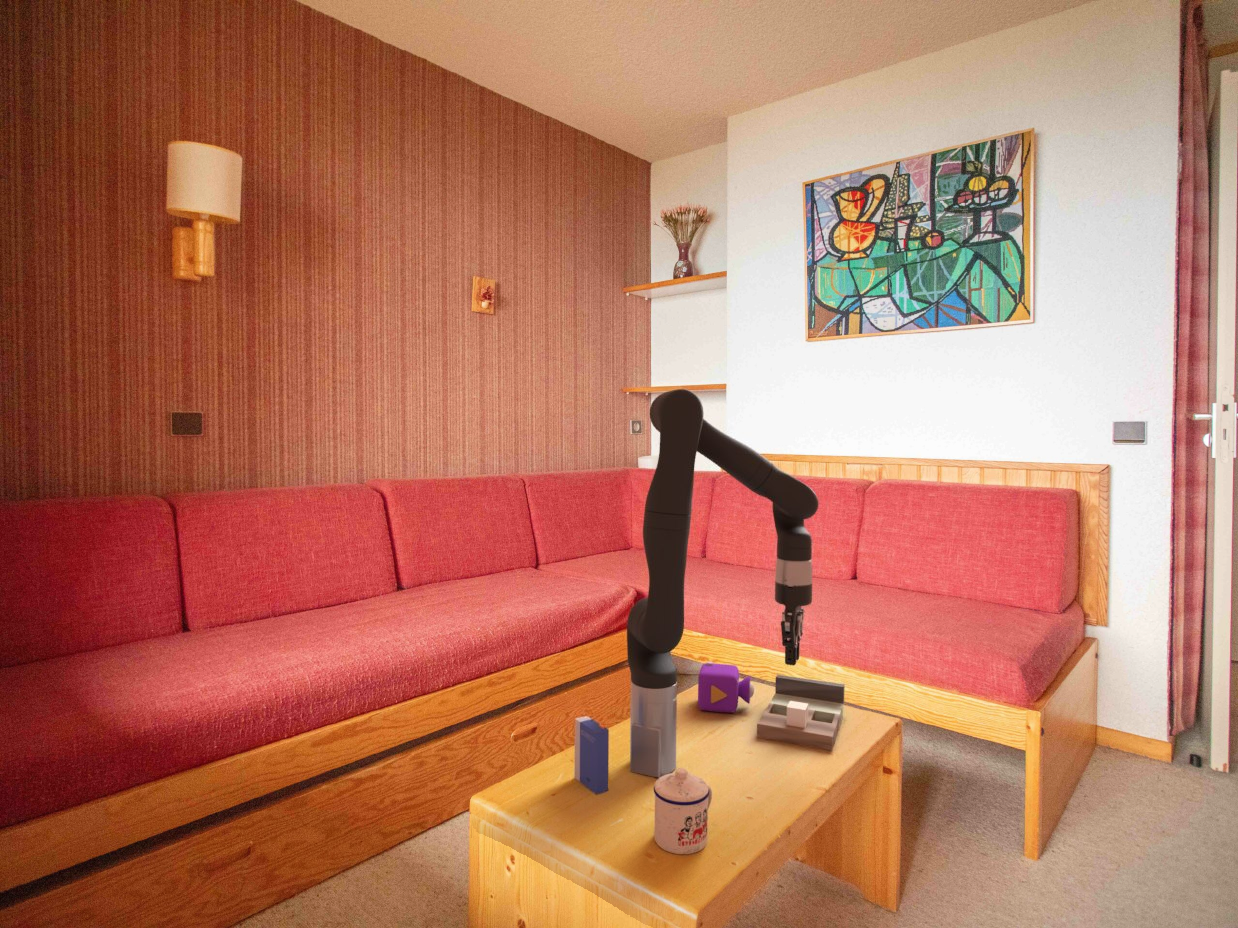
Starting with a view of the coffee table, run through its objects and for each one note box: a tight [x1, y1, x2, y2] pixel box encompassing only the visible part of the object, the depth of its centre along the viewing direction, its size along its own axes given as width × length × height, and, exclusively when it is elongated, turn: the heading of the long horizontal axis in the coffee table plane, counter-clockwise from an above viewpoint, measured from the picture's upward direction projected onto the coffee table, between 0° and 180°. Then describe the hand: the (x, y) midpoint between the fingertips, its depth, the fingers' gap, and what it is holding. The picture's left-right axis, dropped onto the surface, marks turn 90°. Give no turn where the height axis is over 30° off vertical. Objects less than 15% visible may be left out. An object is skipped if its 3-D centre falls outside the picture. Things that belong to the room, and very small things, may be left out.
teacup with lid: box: [653, 767, 713, 855], centre depth 116 cm, size 12×9×12 cm
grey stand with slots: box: [756, 674, 845, 752], centre depth 162 cm, size 22×16×7 cm
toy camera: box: [697, 660, 755, 714], centre depth 172 cm, size 11×14×10 cm
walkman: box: [574, 715, 610, 795], centre depth 134 cm, size 8×3×12 cm, turn 34°
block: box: [786, 701, 808, 728], centre depth 155 cm, size 4×4×4 cm
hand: (792, 661), depth 148 cm, fingers open, 3 cm apart
